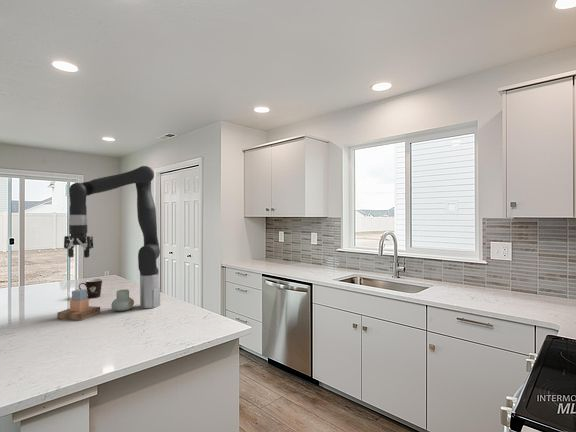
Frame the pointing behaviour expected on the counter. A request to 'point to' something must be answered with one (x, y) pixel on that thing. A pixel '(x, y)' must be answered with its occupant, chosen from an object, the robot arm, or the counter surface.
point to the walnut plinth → (78, 314)
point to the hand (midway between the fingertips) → (78, 257)
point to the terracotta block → (79, 305)
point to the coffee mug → (93, 287)
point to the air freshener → (122, 301)
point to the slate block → (79, 294)
